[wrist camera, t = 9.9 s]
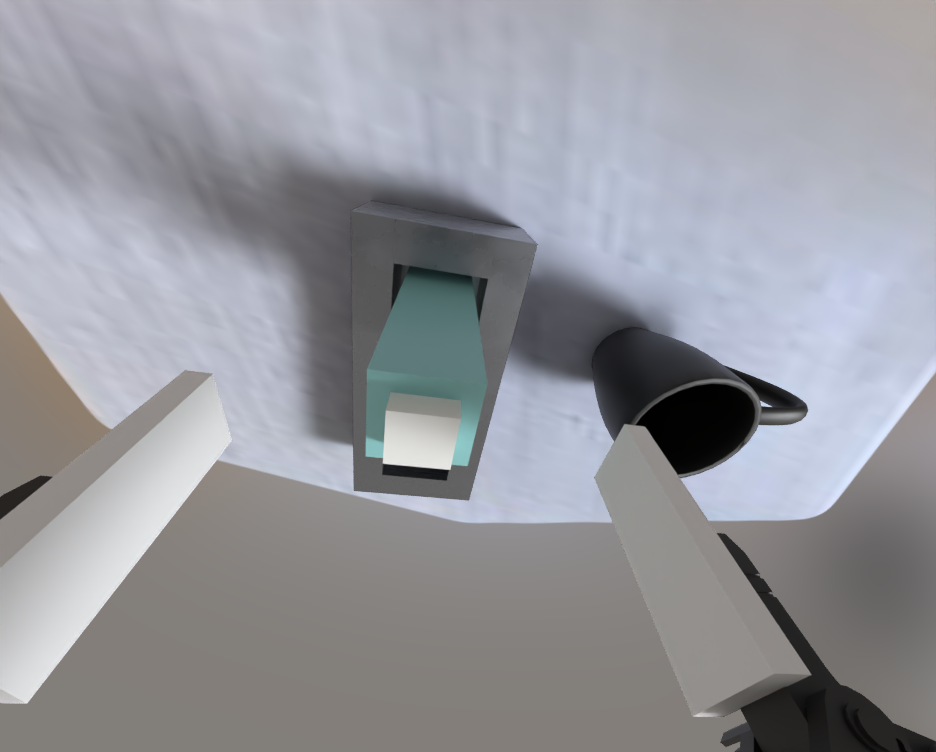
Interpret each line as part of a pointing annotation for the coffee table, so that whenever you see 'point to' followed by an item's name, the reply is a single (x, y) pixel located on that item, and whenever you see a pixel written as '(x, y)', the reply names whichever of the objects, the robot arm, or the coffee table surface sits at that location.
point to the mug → (684, 398)
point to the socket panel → (374, 293)
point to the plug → (427, 374)
